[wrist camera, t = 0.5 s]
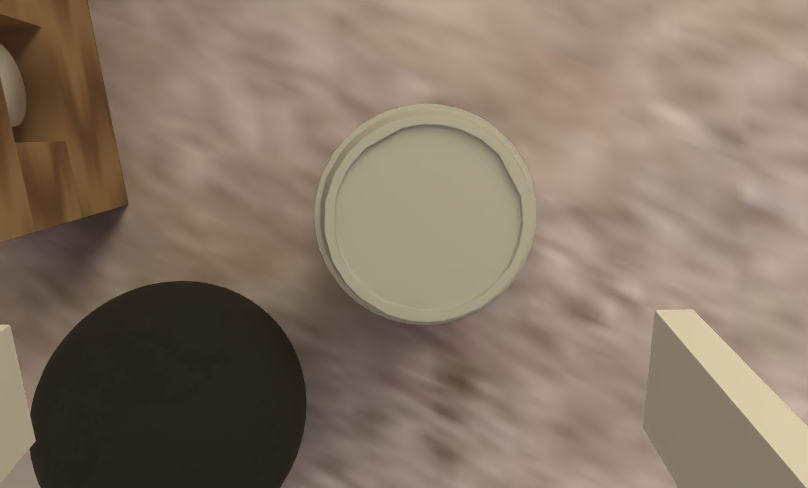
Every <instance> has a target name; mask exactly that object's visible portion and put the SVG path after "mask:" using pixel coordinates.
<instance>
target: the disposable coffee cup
mask: <svg viewBox="0 0 808 488" xmlns="http://www.w3.org/2000/svg"><path fill="white" fill-rule="evenodd" d="M536 211H537V206H536V200H535V194H534V188H533V184H532V181H531V178H530V175H529V172H528V170H527V168H526V166H525V164H524V162H523V160H522V158H521V156H520V154H519V153H518V151H517V150H516V149H515V148H514V146H513V145H512V144H511V142H510V141H509V140H508V139H507V138H506V137H505V136H504V135H503V134H502V133H501V132H500V131H499V130H498V129H497V128H495V127H494V126H492V125H491V124H490V123H488V122H487V121H485V120H484V119H482V118H480V117H478V116H476V115H475V114H472V113H470V112H467V111H465V110H462V109H460V108H455V107H450V106H445V105H440V104H415V105H409V106H403V107H397V108H394V109H392V110H389V111H386V112H383V113H381V114H379V115H377V116H375V117H373V118H372V119H370V120H368V121H366V122H364V123H363V124H362V125H360V126H359V127H358V128H357V129H356V130H354V131H353V132H352V133H351V134H350V135H348V136H347V137H346V139H345V140H344V141H343V142H342V143H341V144H340V146H339V147H338V148H337V149H336V150H335V152H334V153H333V154H332V156H331V158H330V160H329V162H328V164H327V166H326V168H325V170H324V172H323V174H322V176H321V179H320V183H319V187H318V191H317V195H316V199H315V216H314V223H315V229H316V235H317V241H318V246H319V249H320V251H321V254H322V256H323V259H324V261H325V264H326V266H327V268H328V270H329V271H330V273H331V274H332V275H333V277H334V278H335V280H336V281H337V283H338V284H339V285H340V287H341V288H342V289H343V290H344V291H345V292H346V293H347V294H348V295H349V296H350V297H351V298H353V299H354V300H355V301H356V302H357V303H358V304H360V305H362V306H363V307H365V308H366V309H368V310H370V311H371V312H373V313H374V314H377V315H379V316H382V317H384V318H387V319H389V320H392V321H396V322H401V323H405V324H413V325H436V324H444V323H448V322H452V321H456V320H459V319H462V318H464V317H467V316H469V315H472V314H474V313H476V312H478V311H479V310H481V309H483V308H484V307H486V306H487V305H489V304H490V303H492V302H493V301H494V300H495V299H497V298H498V297H499V296H500V295H501V294H502V293H503V292H504V291H505V290H506V289H507V288H508V287H509V286H510V285H511V283H512V282H513V280H514V279H515V278H516V276H517V275H518V273H519V272H520V270H521V269H522V268H523V265H524V263H525V261H526V259H527V256H528V254H529V252H530V249H531V246H532V242H533V238H534V233H535V229H536Z"/></svg>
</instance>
